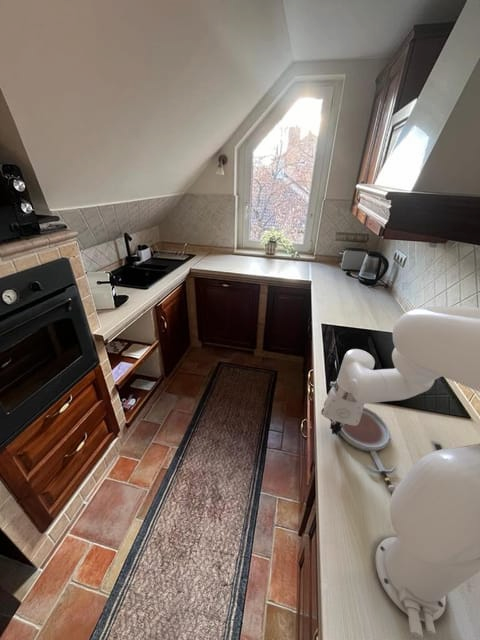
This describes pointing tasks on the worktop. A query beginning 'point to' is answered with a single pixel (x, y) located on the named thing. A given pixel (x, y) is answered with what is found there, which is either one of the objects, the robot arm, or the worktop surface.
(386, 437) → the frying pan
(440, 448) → the strip
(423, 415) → the worktop surface
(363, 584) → the worktop surface
